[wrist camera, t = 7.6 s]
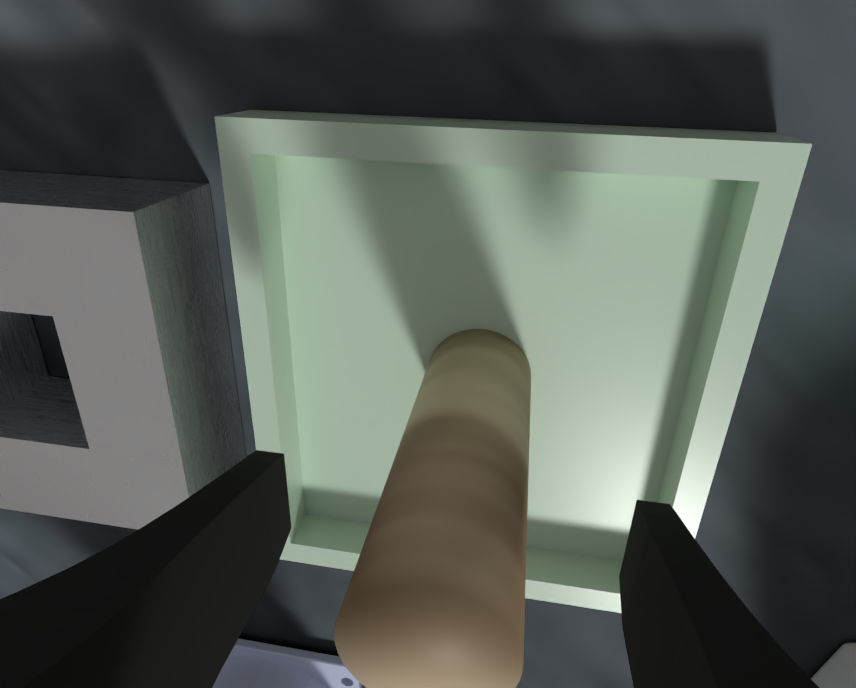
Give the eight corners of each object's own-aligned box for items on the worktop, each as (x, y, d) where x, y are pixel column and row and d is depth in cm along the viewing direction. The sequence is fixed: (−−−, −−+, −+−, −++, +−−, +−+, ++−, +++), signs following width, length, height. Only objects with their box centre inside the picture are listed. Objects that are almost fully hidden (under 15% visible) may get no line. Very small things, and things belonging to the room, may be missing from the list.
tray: (659, 570, 20) (670, 620, 18) (291, 516, 22) (269, 557, 20) (777, 132, 14) (812, 144, 12) (251, 109, 16) (214, 116, 14)
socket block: (247, 468, 21) (197, 538, 18) (0, 434, 23) (-86, 494, 19) (209, 183, 17) (133, 212, 14) (-95, 164, 18) (-227, 185, 15)
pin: (526, 424, 18) (514, 729, 10) (427, 413, 18) (338, 696, 10) (536, 334, 16) (533, 600, 8) (429, 324, 17) (329, 569, 9)
